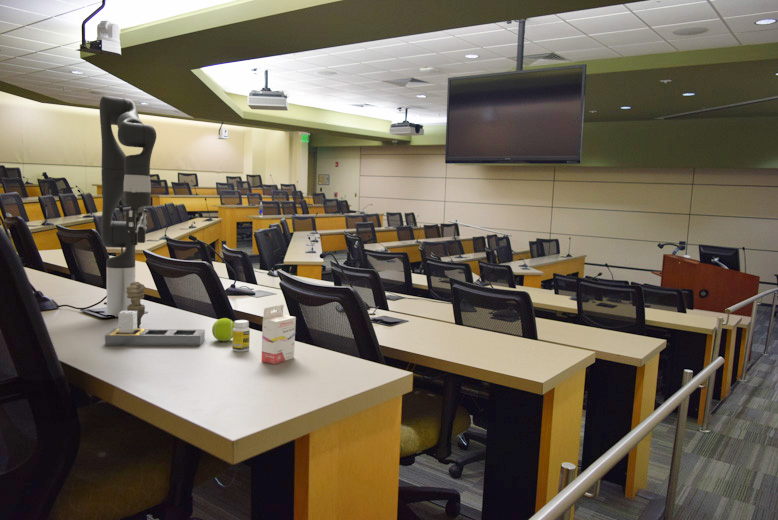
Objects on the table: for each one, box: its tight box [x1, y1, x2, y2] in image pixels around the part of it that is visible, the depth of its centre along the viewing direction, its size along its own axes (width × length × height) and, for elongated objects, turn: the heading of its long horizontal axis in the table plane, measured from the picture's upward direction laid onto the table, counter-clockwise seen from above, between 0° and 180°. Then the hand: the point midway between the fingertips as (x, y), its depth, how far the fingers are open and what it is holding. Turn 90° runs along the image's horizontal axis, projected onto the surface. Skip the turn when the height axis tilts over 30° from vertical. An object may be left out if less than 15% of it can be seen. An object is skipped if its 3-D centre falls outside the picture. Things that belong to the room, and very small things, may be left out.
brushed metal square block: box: [117, 311, 138, 334], centre depth 163 cm, size 4×4×9 cm
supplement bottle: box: [232, 319, 251, 353], centre depth 161 cm, size 5×5×8 cm
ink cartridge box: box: [261, 304, 297, 365], centre depth 152 cm, size 9×5×15 cm, turn 152°
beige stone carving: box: [126, 281, 146, 328], centre depth 181 cm, size 6×6×15 cm
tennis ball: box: [211, 317, 235, 342], centre depth 170 cm, size 7×7×7 cm
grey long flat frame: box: [104, 328, 206, 347], centre depth 165 cm, size 8×26×3 cm, turn 99°
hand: (137, 243), depth 171 cm, fingers open, 8 cm apart
